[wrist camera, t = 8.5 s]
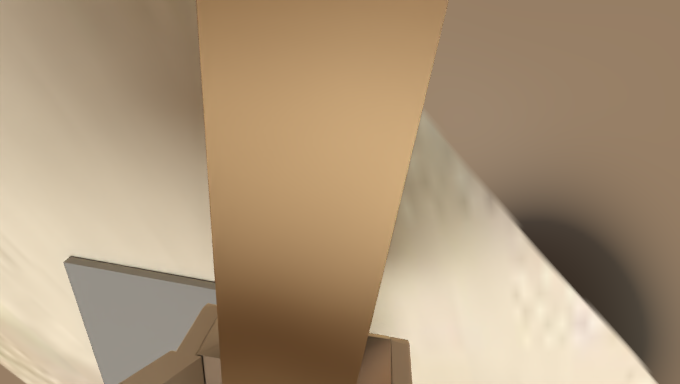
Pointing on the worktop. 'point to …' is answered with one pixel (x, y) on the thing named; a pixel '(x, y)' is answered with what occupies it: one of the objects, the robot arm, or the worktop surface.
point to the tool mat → (134, 313)
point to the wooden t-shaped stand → (307, 172)
